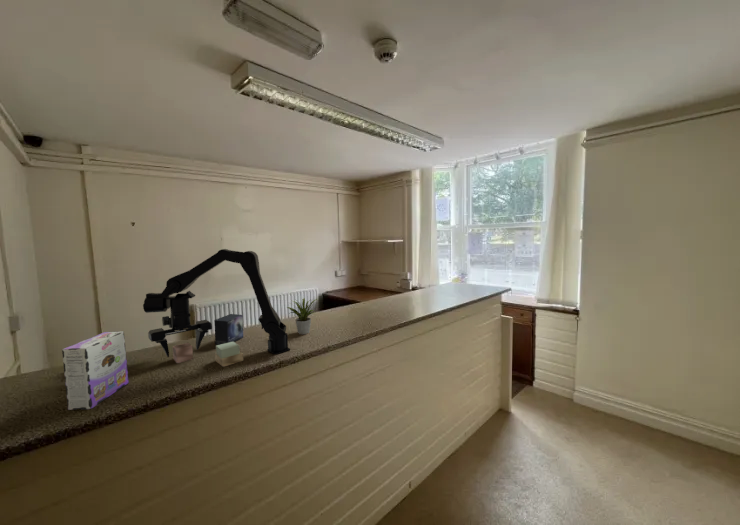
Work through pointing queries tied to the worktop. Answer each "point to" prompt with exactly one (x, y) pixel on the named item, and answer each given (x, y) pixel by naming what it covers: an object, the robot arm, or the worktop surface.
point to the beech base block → (229, 359)
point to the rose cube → (182, 352)
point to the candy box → (95, 369)
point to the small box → (228, 329)
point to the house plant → (302, 317)
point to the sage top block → (227, 349)
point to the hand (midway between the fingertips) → (183, 352)
